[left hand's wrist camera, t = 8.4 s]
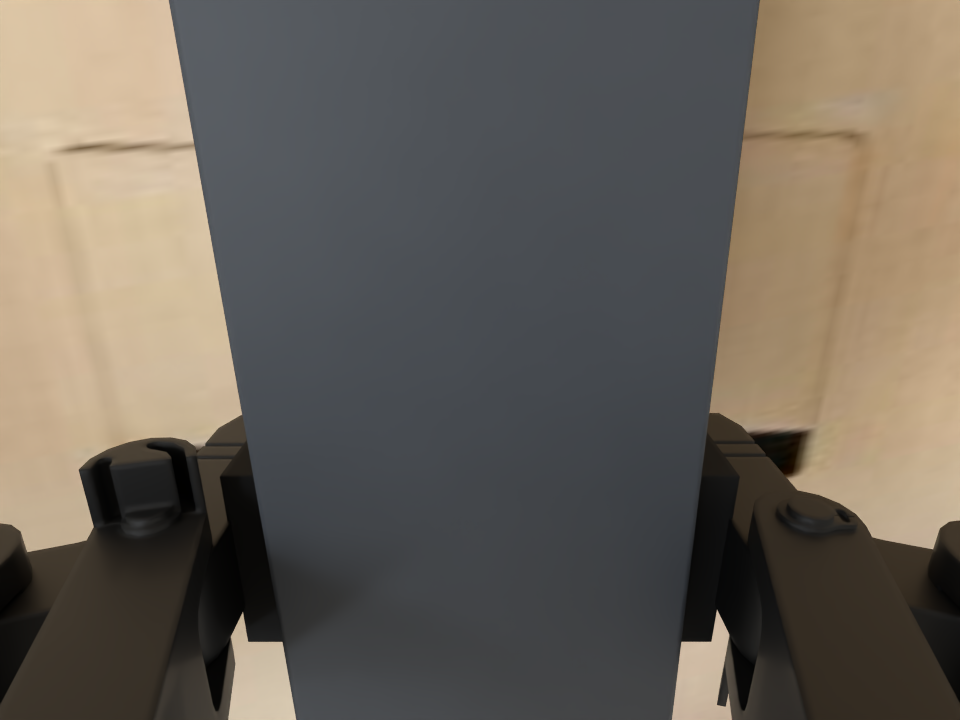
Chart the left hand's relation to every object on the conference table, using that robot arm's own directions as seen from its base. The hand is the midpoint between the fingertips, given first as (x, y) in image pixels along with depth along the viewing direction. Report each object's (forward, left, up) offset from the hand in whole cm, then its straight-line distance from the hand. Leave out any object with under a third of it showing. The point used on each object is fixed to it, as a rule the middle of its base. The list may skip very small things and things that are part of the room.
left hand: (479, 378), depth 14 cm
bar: (+17, +13, -1) cm, 21 cm away
